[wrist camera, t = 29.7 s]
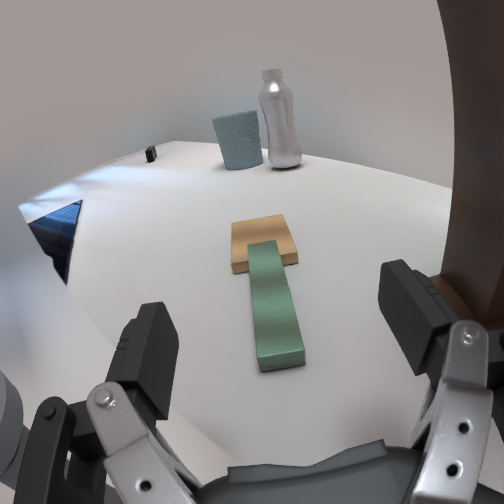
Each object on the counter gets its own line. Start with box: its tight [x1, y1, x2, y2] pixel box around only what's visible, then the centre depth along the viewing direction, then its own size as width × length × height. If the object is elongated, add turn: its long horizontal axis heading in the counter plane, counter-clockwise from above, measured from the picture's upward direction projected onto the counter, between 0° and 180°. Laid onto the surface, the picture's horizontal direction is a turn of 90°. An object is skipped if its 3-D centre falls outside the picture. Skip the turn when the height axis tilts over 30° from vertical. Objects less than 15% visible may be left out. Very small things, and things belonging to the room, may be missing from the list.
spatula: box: [231, 214, 305, 372], centre depth 26 cm, size 20×6×2 cm, turn 3°
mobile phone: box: [145, 146, 157, 162], centre depth 104 cm, size 5×3×15 cm
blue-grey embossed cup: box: [212, 110, 263, 170], centre depth 62 cm, size 10×10×12 cm
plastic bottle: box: [259, 69, 302, 168], centre depth 52 cm, size 6×7×20 cm
